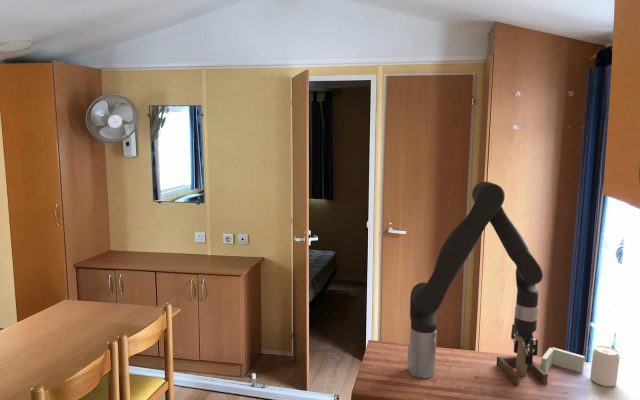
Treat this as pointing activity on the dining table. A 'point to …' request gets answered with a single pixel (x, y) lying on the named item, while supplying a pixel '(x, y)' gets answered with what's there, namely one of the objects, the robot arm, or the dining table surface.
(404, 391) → the dining table surface
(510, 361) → the u-shaped bracket
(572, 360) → the cream l-shaped bracket
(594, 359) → the beverage can
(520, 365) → the handle
